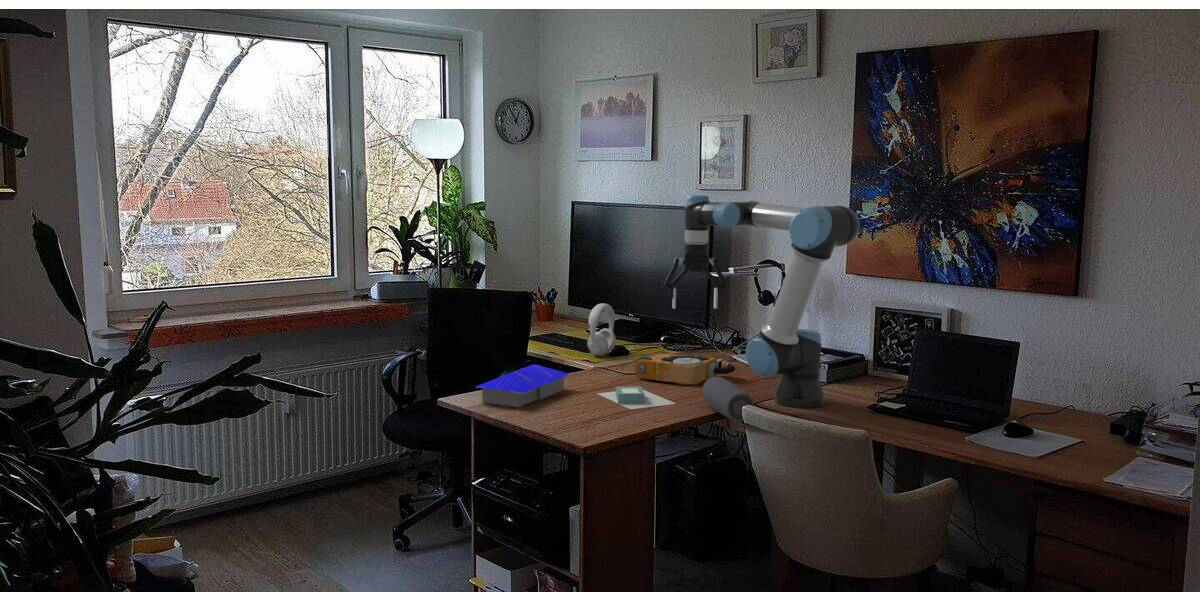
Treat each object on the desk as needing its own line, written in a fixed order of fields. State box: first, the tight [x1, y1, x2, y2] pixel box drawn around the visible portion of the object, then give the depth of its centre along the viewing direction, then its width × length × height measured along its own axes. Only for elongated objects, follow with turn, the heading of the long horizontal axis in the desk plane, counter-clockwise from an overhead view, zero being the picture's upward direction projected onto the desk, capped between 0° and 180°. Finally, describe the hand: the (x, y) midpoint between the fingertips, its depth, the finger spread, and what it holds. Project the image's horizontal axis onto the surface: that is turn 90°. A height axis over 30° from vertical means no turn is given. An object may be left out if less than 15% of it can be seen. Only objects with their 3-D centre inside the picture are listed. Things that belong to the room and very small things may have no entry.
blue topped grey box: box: [474, 363, 571, 408], centre depth 309 cm, size 30×17×9 cm, turn 154°
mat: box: [597, 389, 677, 410], centre depth 305 cm, size 22×16×1 cm
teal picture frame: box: [615, 385, 645, 405], centre depth 303 cm, size 8×3×10 cm
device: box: [633, 353, 736, 386], centre depth 335 cm, size 23×8×30 cm
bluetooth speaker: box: [701, 376, 755, 423], centre depth 286 cm, size 23×9×10 cm, turn 12°
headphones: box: [586, 303, 617, 357], centre depth 375 cm, size 18×8×20 cm, turn 156°
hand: (694, 308), depth 318 cm, fingers open, 13 cm apart
